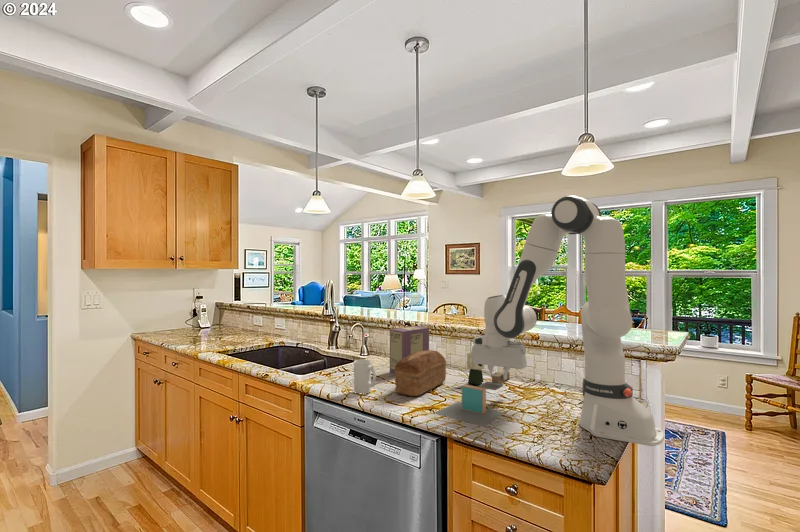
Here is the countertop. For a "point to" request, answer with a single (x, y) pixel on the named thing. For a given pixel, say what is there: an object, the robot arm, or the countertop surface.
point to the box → (407, 343)
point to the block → (474, 399)
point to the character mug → (474, 371)
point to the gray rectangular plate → (469, 414)
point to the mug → (363, 376)
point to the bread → (420, 372)
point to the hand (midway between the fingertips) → (498, 378)
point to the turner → (495, 382)
